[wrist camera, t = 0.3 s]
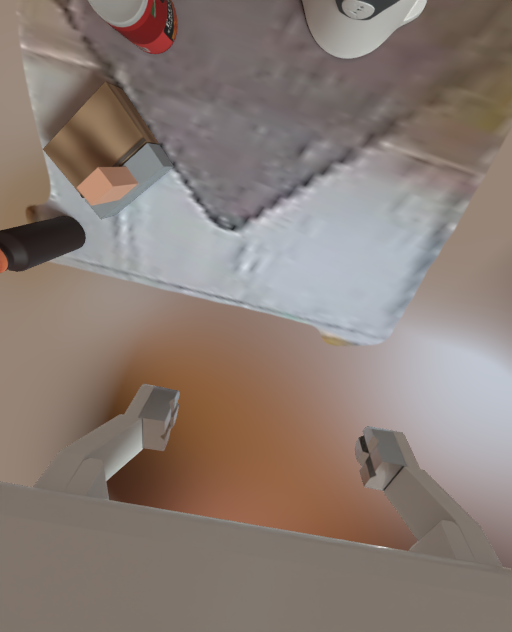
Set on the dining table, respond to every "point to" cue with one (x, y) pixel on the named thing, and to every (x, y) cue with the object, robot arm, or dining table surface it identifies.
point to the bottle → (39, 242)
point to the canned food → (141, 21)
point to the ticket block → (99, 135)
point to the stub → (124, 180)
